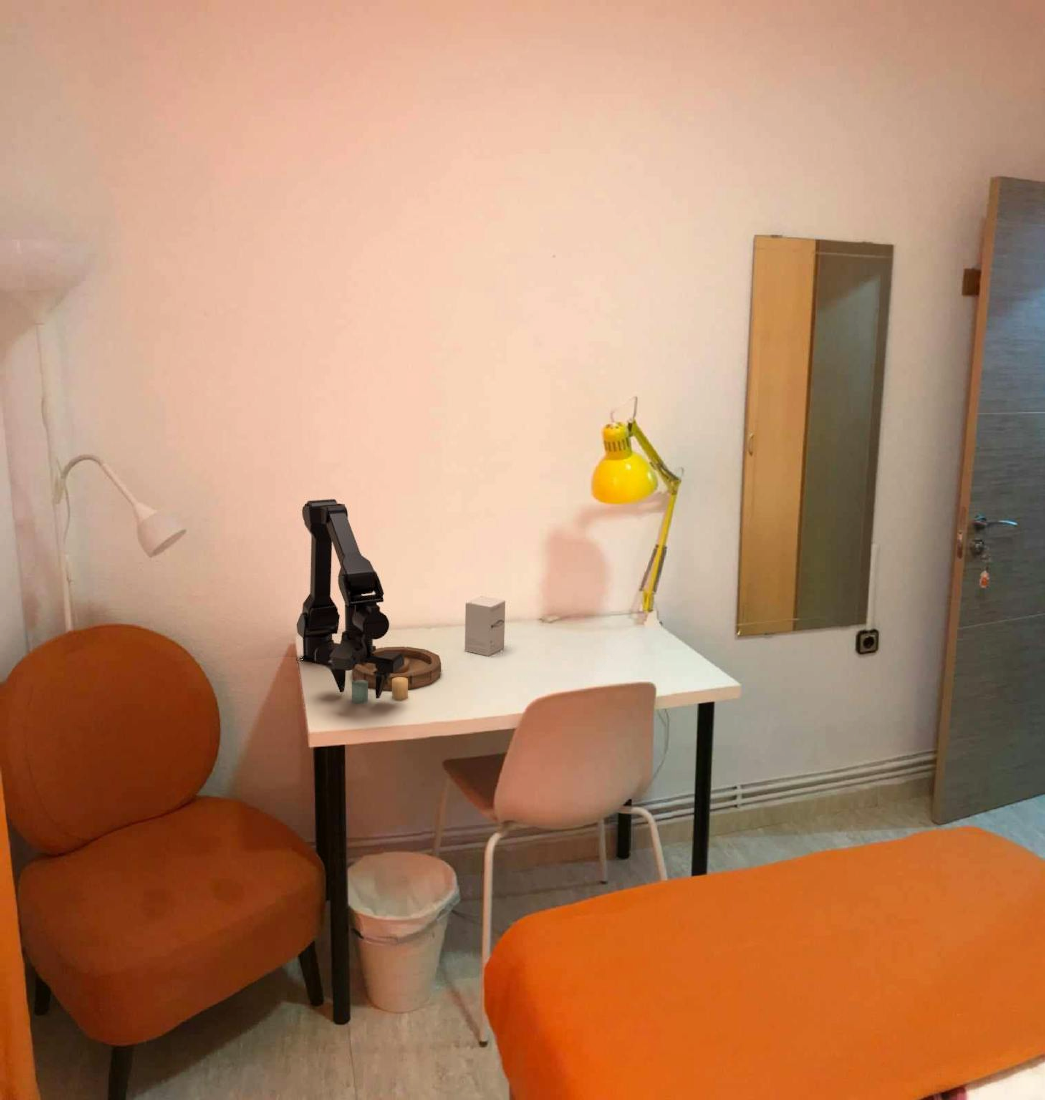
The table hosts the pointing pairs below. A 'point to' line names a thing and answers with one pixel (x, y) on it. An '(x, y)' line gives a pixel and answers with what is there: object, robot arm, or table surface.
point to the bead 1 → (359, 691)
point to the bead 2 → (399, 688)
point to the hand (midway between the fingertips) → (359, 695)
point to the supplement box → (484, 625)
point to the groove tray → (404, 668)
